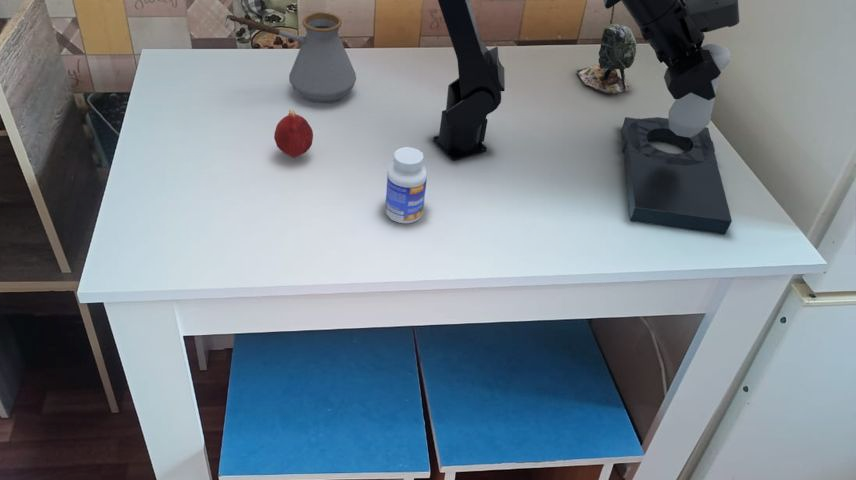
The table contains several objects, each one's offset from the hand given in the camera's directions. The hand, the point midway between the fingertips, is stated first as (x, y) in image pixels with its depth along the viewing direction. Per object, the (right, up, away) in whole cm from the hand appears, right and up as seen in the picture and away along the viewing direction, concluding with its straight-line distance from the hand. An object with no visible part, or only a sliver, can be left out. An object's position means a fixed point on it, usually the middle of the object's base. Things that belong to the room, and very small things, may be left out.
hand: (709, 91), depth 104 cm
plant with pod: (-6, +8, +27) cm, 29 cm away
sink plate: (-3, -11, +7) cm, 14 cm away
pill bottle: (-44, -17, 0) cm, 47 cm away
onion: (-60, -8, +9) cm, 61 cm away
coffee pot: (-61, +5, +22) cm, 65 cm away
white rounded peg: (-2, -5, +5) cm, 7 cm away
